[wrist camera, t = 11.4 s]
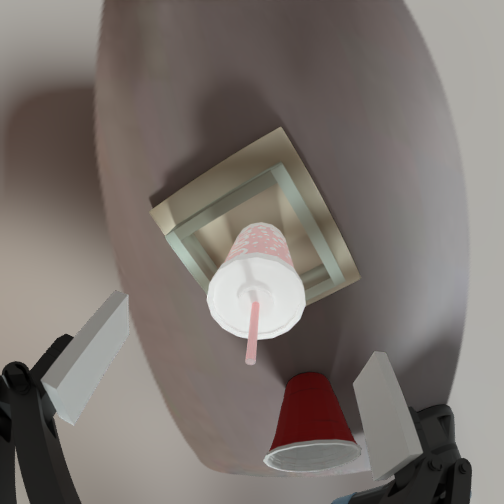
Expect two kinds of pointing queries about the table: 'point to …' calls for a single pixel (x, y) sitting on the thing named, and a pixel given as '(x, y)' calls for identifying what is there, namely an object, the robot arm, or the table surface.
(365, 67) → the table surface
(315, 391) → the plastic cup
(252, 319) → the beverage cup
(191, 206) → the cup stand
